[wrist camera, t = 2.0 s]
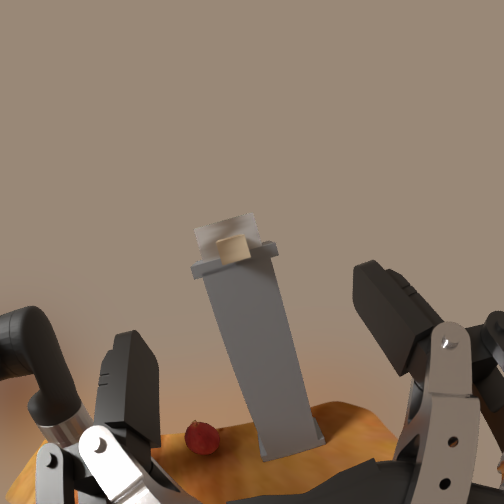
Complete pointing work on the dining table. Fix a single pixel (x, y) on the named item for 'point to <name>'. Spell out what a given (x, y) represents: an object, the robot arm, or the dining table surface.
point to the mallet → (228, 239)
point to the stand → (261, 350)
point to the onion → (202, 438)
